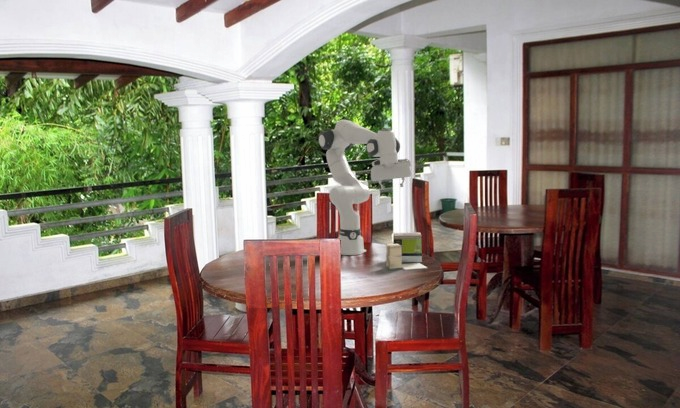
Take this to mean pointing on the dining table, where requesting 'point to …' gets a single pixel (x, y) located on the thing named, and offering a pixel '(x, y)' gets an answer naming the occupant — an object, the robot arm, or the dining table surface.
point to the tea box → (409, 246)
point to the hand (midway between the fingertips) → (392, 188)
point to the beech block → (393, 256)
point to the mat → (413, 266)
